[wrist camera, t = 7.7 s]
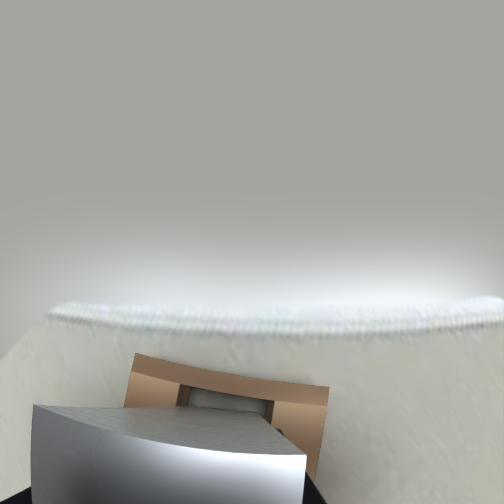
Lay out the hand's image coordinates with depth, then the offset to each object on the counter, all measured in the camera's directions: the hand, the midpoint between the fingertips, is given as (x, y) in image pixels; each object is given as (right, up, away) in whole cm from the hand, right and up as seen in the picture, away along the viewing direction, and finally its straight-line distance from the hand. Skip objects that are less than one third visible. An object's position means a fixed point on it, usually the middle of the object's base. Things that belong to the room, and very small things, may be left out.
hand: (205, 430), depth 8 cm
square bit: (0, -4, +5) cm, 7 cm away
